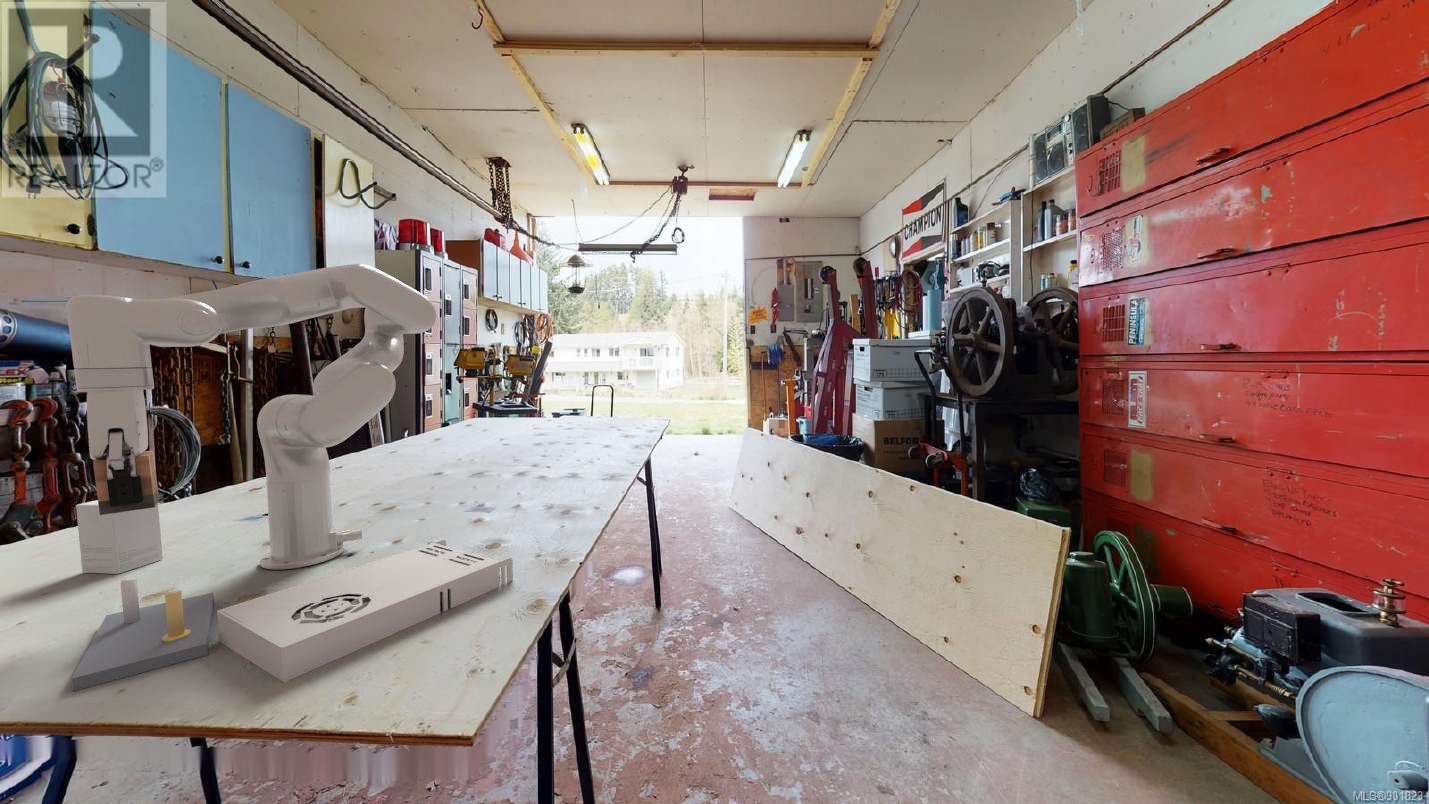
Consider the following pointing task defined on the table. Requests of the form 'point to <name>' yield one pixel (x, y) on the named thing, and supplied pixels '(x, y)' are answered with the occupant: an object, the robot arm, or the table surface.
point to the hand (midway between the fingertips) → (130, 498)
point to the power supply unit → (354, 607)
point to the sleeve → (143, 470)
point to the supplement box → (118, 539)
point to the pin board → (146, 636)
